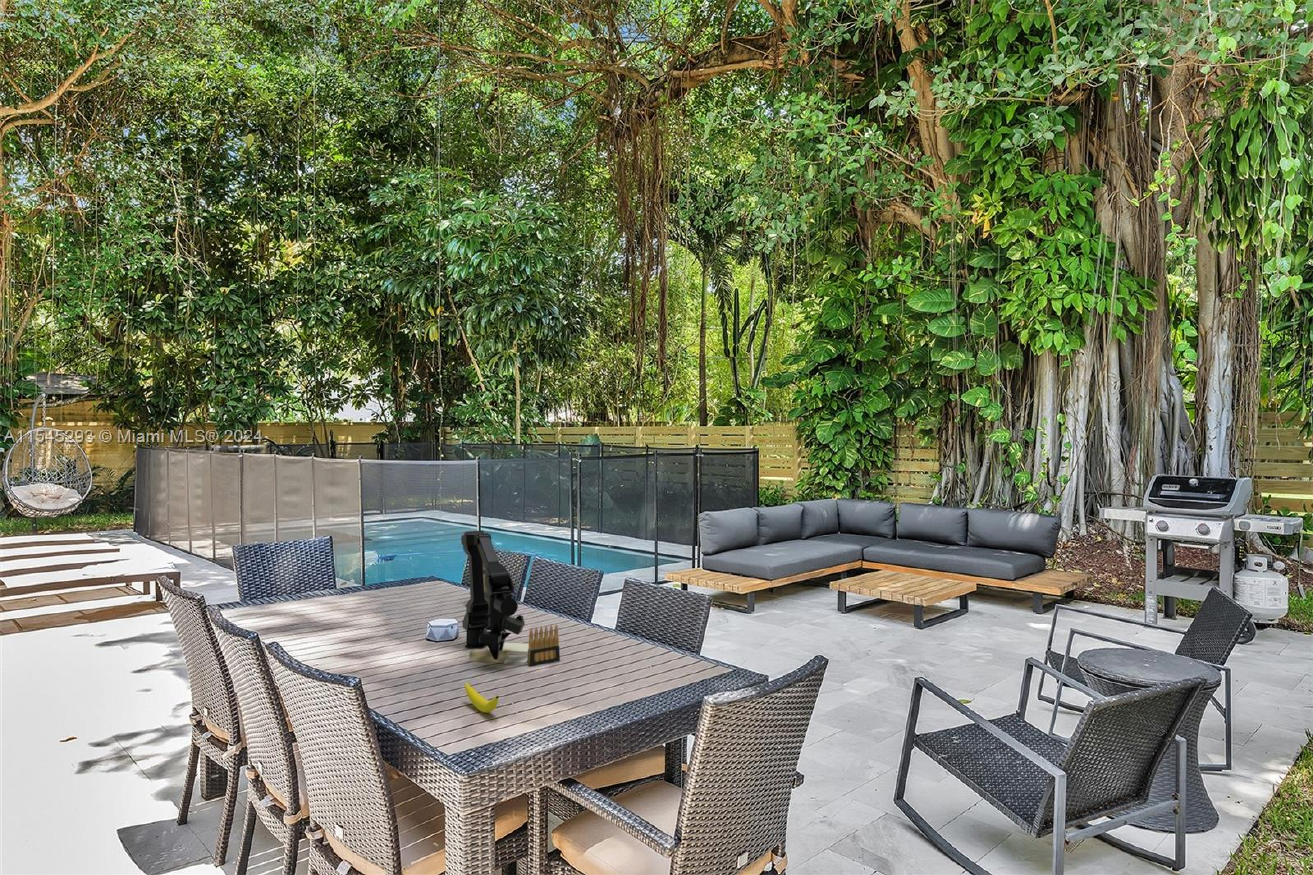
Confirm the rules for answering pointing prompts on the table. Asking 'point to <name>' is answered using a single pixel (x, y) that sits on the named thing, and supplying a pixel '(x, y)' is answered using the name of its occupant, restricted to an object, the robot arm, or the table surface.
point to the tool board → (516, 648)
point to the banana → (481, 700)
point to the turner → (502, 657)
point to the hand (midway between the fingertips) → (497, 657)
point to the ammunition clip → (543, 647)
